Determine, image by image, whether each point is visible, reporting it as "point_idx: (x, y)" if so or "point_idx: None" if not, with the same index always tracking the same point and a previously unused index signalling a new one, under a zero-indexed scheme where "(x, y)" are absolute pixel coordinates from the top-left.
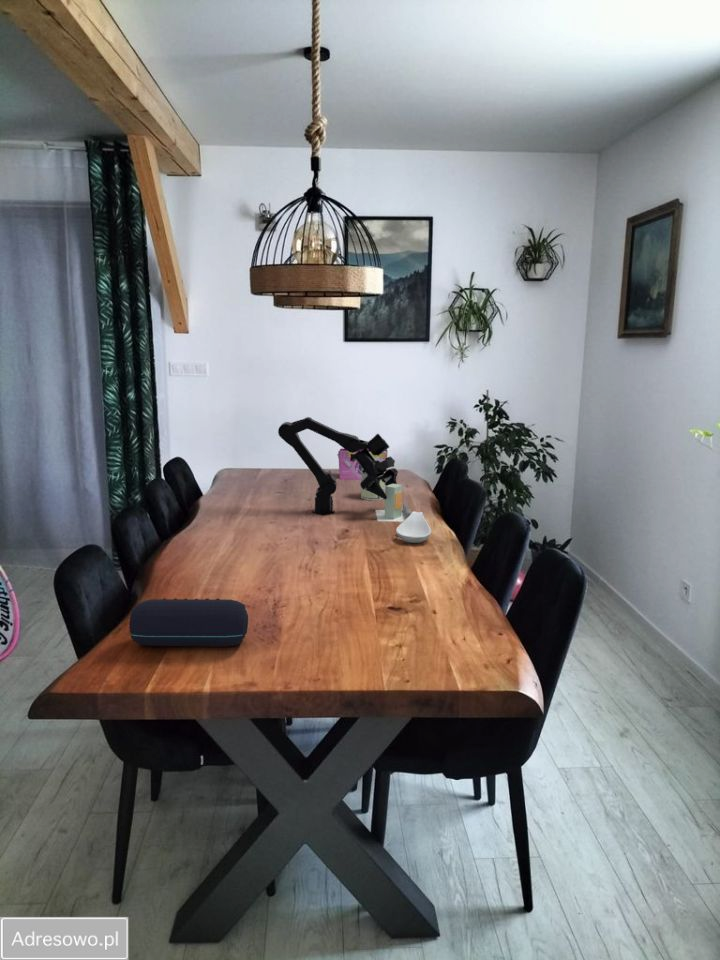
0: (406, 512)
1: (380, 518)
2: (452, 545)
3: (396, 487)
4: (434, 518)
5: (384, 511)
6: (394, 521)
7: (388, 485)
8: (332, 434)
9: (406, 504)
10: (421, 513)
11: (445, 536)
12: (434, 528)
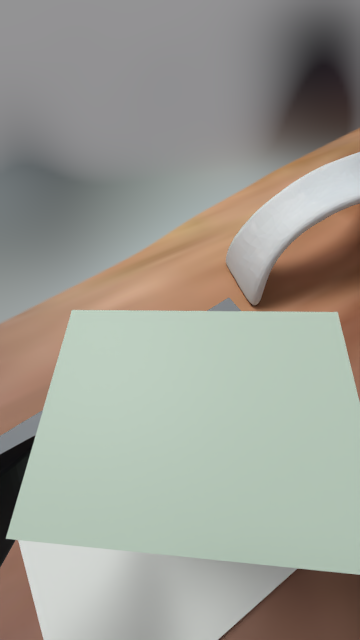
0: None
1: None
2: (353, 131)
3: (264, 316)
4: (76, 287)
5: (93, 616)
6: None
7: (265, 534)
8: None
9: (13, 433)
10: (343, 161)
11: (287, 171)
12: (223, 228)
